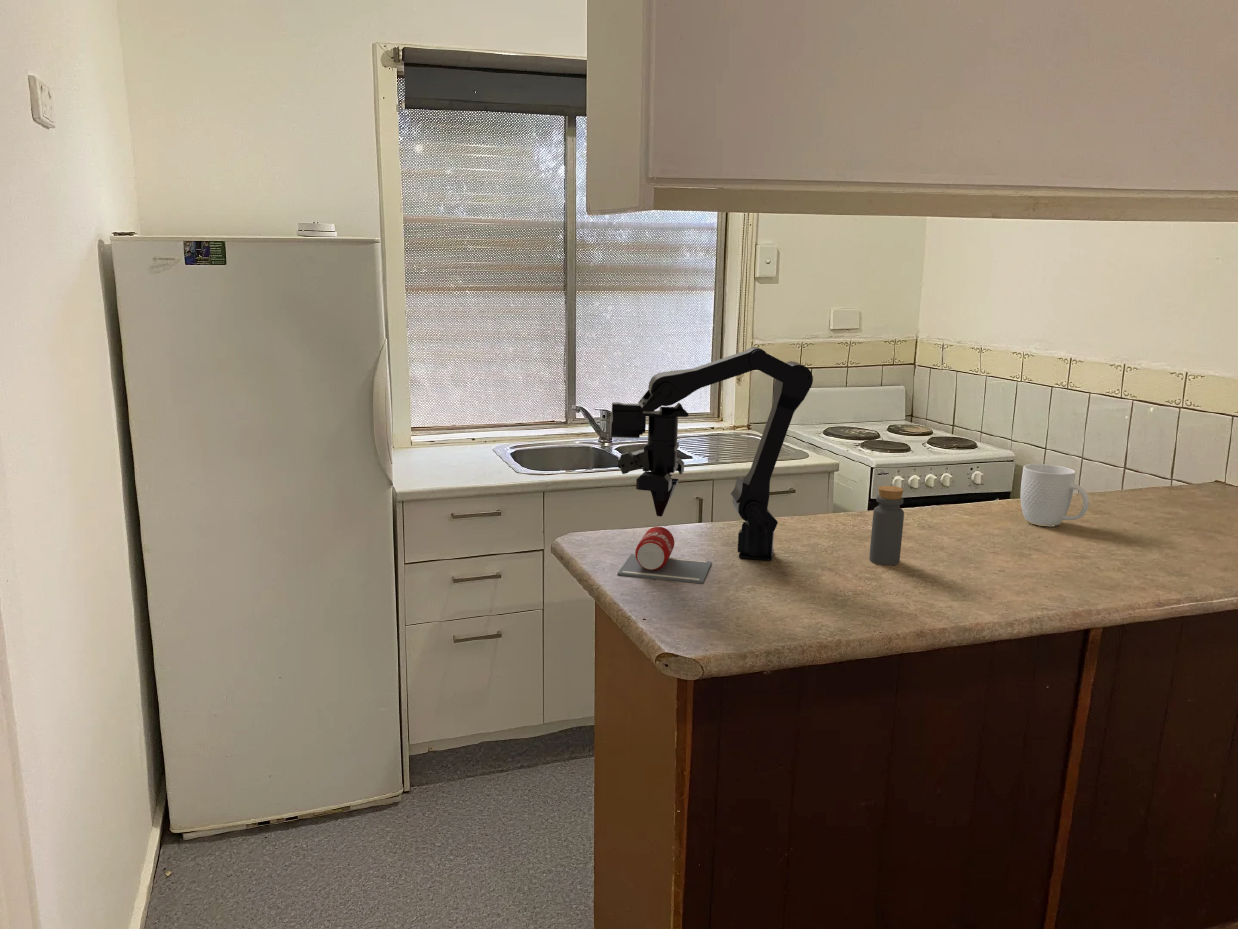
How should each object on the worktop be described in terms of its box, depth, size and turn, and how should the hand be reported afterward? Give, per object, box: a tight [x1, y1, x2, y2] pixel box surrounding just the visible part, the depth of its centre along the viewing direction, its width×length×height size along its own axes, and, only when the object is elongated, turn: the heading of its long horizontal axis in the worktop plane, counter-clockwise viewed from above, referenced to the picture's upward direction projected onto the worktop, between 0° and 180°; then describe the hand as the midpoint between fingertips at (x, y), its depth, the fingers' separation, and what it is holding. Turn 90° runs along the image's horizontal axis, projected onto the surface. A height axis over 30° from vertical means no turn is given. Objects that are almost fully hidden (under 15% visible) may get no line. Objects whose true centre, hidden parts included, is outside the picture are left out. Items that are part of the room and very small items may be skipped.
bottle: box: [868, 485, 905, 566], centre depth 185 cm, size 6×6×15 cm
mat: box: [617, 553, 712, 585], centre depth 178 cm, size 16×12×1 cm
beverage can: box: [634, 526, 675, 571], centre depth 180 cm, size 6×6×12 cm
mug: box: [1019, 463, 1090, 526], centre depth 215 cm, size 15×11×13 cm
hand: (659, 515), depth 185 cm, fingers closed
